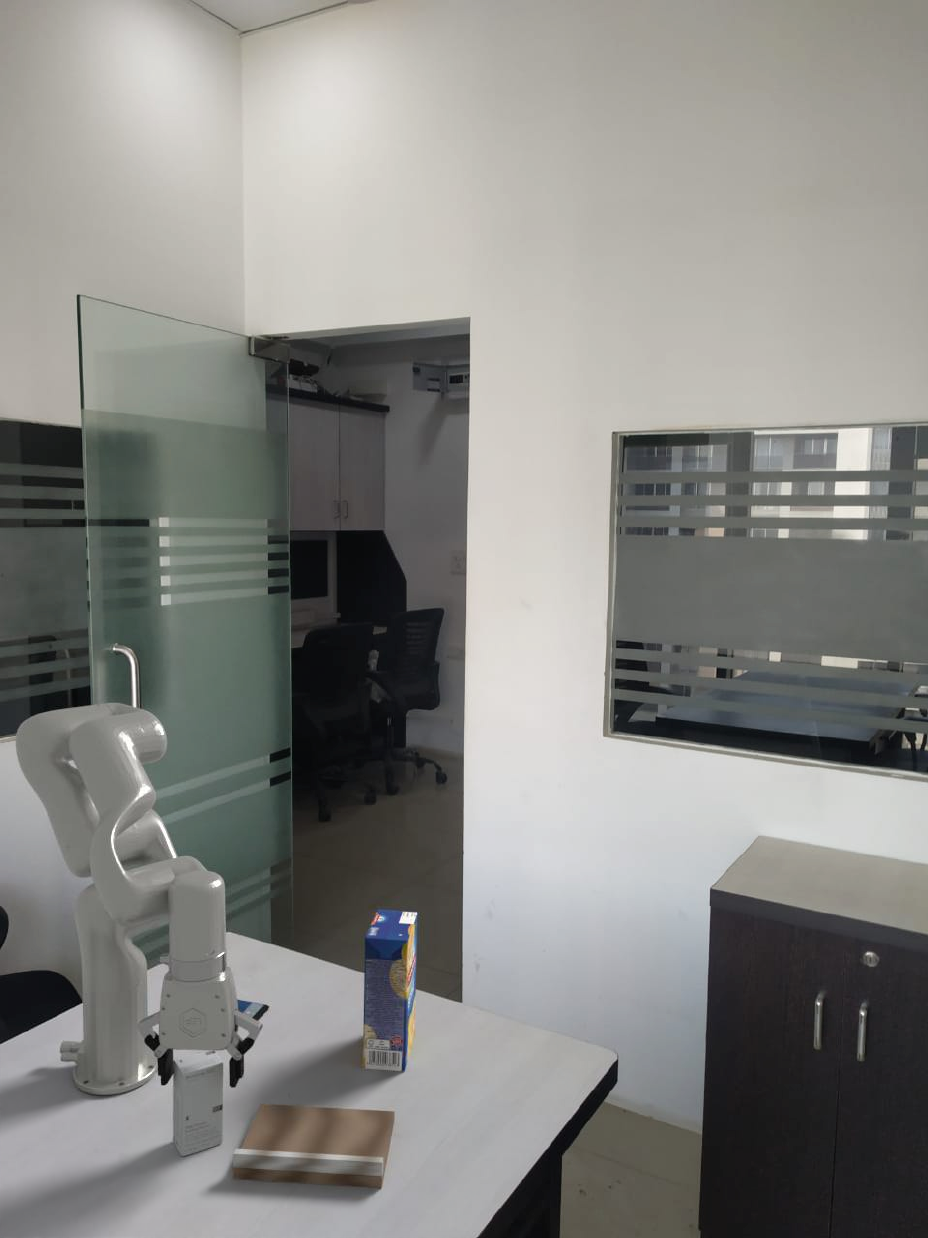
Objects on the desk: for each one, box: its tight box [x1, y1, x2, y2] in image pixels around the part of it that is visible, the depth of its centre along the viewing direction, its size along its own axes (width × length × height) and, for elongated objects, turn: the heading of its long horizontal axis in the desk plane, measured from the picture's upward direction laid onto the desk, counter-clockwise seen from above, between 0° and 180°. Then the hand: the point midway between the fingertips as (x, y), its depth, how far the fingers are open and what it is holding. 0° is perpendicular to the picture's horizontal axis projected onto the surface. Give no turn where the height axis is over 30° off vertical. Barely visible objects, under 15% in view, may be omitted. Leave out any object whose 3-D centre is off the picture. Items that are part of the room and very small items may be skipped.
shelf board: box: [232, 1103, 395, 1189], centre depth 134 cm, size 20×14×4 cm
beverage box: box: [362, 909, 418, 1072], centre depth 158 cm, size 7×11×22 cm, turn 175°
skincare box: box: [172, 1050, 224, 1157], centre depth 135 cm, size 6×4×12 cm
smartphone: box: [237, 999, 270, 1021], centre depth 170 cm, size 7×1×15 cm
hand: (201, 1081), depth 134 cm, fingers open, 9 cm apart
